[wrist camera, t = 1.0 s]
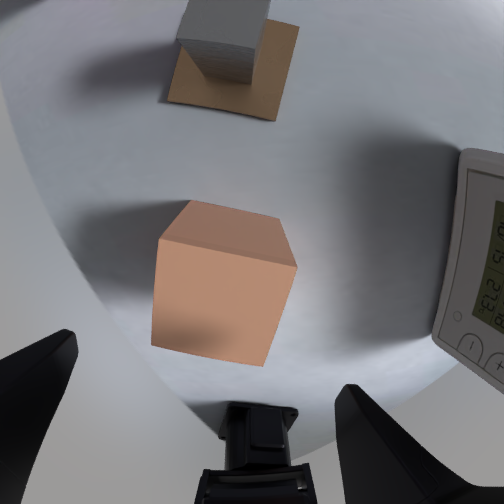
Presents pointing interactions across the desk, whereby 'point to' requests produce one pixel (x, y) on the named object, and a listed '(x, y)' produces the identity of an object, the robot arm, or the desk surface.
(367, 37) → the desk surface
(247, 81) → the post on square base
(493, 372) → the digital clock
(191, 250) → the tan cardboard box
